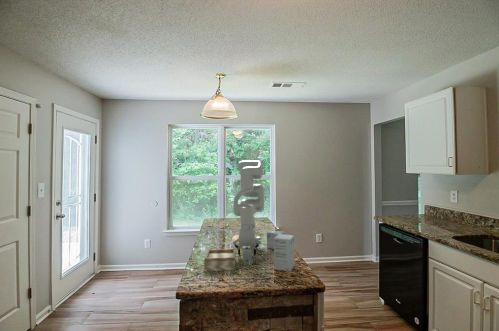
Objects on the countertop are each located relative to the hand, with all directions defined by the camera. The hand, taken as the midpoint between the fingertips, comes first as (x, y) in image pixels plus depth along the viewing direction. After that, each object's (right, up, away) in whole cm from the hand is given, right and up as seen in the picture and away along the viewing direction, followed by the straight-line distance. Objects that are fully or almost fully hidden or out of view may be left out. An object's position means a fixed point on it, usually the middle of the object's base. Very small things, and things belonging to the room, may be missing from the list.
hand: (247, 255), depth 167 cm
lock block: (0, -1, 0) cm, 1 cm away
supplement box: (+21, -1, -17) cm, 27 cm away
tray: (-15, -1, -12) cm, 19 cm away
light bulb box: (+19, -2, +20) cm, 28 cm away
